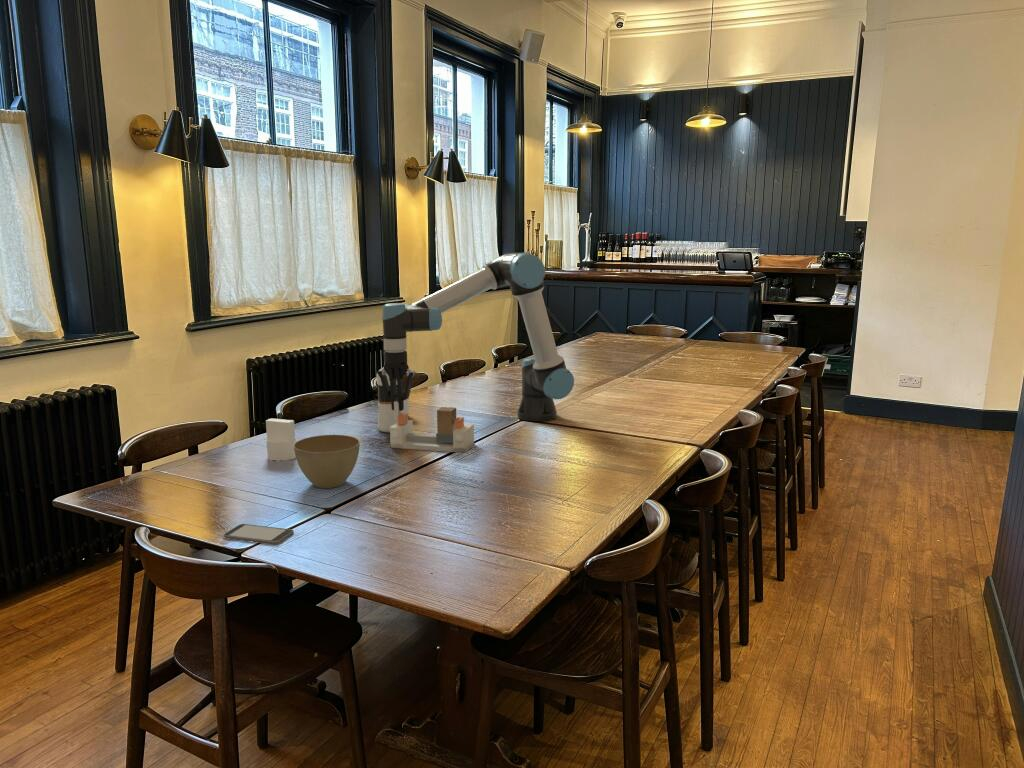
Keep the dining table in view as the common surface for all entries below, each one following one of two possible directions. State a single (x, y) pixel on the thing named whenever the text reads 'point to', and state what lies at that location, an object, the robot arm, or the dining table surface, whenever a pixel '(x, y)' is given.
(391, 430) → the linear slide base
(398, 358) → the robot arm
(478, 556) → the dining table surface
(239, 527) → the smartphone
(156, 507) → the dining table surface
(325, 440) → the tan bowl
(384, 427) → the vodka
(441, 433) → the carriage
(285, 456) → the base with upright slab
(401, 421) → the gauge plunger
